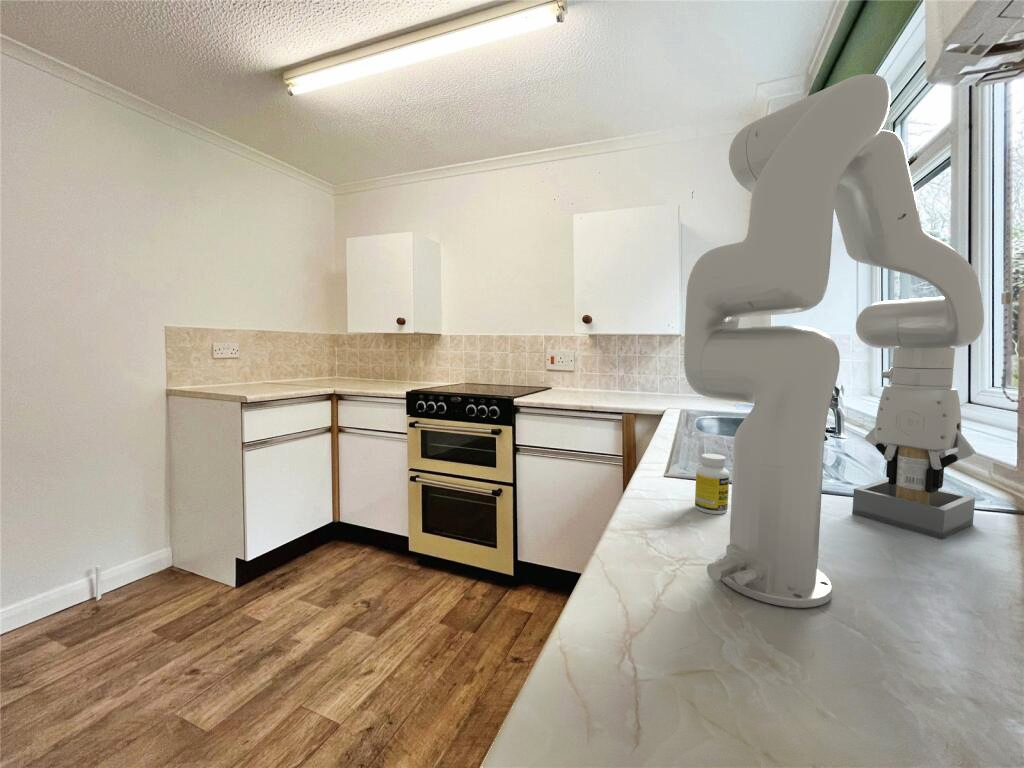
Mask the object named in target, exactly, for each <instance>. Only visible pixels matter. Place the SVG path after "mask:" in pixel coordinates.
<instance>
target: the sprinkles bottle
mask: <svg viewBox="0 0 1024 768" xmlns="http://www.w3.org/2000/svg"><path fill="white" fill-rule="evenodd" d="M930 465H931V461H930V456H929V451H928V450H922V449H915V448H909V447H902V446H899V450H898V459H897V476H896V484H897V485H896V497H897V498H902V499H906V500H910V501H914V502H918V503H923V504H927V505H930V504H929V497H930V493H928V492H927V491H925V487H926V474H927V469H928V468H930Z"/></svg>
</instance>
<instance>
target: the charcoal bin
mask: <svg viewBox="0 0 1024 768" xmlns="http://www.w3.org/2000/svg"><path fill="white" fill-rule="evenodd" d="M888 480H889V478H885V479H882V480H878V481H875V482H871V483H869V484H865V485H861V486H858V487H855V488H853V498H852V513H851V514H852V515H855V516H859V517H862V518H865V519H869V520H871V521H872V520H873V521H876V522H879V523H883V524H886V525H890V526H894V527H897V528H901V529H904V530H908V531H911V532H914V533H918V534H921V535H925V536H929V537H933V538H936V539H939V540H945V539H947V538H948V537H950V536H952V535H954V534H957V533H959V532H961V531H963V530H964V529H966V528H969V527H971V526H973V525H974V515H975V504H976V497H975V496H969V495H965V494H960V493H955V492H950V491H946V490H941V489H939V490H938V491H936V492H933V493H930V497H929V504H930V505H927V504H923V503H918V502H914V501H910V500H906V499H902V498H897V497H896V485H897V484H894V485H891V484H889V483H888Z"/></svg>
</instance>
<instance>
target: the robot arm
mask: <svg viewBox="0 0 1024 768" xmlns="http://www.w3.org/2000/svg"><path fill="white" fill-rule="evenodd" d="M890 105H891V88H890V85H889V83H888V82H887V80H886V79H885V78H884V77H883V76H880V75H878V74H871V73H864V74H863V73H862V74H858V75H854V76H851V77H848V78H845V79H843V80H841V81H840V82H837V83H835V84H832V85H831V86H829V87H826V88H824V89H822V90H820V91H817V92H815V93H813V94H811V95H808V96H806V97H803V98H802V99H800V100H798V101H796V102H793V103H791V104H790V105H787V106H785V107H782V108H781V109H778V110H777V111H774V112H772V113H770V114H766V115H765V116H762V117H761V118H758V119H756V120H754V121H752V122H750V123H749V124H747V125H746V126H744V127H743V128H742V129H741V130H740V131H739V132H737V134H736V135H735V136H734V138H733V139H732V141H731V143H730V147H729V152H728V164H729V169H730V171H731V173H732V175H733V177H734V178H735V181H736V182H737V183H739V185H740V186H741V187H743V188H744V189H745V190H746V191H748V192H750V193H751V198H750V208H749V218H748V229H747V234H746V236H745V238H744V239H743V240H742V241H739V242H736V243H735V242H734V243H730V244H726V245H722V246H717V247H715V248H712V249H710V250H708V251H706V252H705V253H704V254H702V255H701V256H700V257H699V258H698V260H697V261H696V262H695V264H694V265H693V267H692V269H691V272H690V273H689V277H688V281H687V286H686V297H685V321H684V345H683V347H684V348H683V364H684V373H685V377H686V381H687V383H688V385H689V386H690V388H691V389H692V390H693V391H694V392H695V393H697V394H699V395H700V396H703V397H707V398H711V399H718V400H726V401H733V402H734V401H735V402H745V403H749V404H753V407H752V409H751V410H750V412H749V413H748V414H747V415H746V417H744V419H743V420H742V422H741V423H740V424H739V426H738V428H737V430H736V432H735V434H734V438H733V445H732V472H731V473H732V475H731V498H730V502H731V503H730V526H729V544H727V545H726V550H725V551H726V552H723V553H721V554H720V555H718V556H717V557H716V559H715V561H714V562H711V563H708V565H707V566H706V572H707V574H708V576H709V578H710V579H712V580H713V581H722V582H723V583H724V584H725V585H727V587H730V588H731V589H732V590H734V591H736V592H738V593H740V594H742V595H744V596H746V597H749V598H751V599H753V600H756V601H759V602H763V603H766V604H770V605H775V606H779V607H787V608H802V609H804V608H805V609H807V608H815V607H819V606H822V605H824V604H827V603H828V602H829V601H830V600H831V598H832V594H833V585H832V583H831V580H830V579H829V578H828V577H827V576H826V575H825V574H824V573H823V572H821V570H819V569H818V561H819V560H818V559H819V544H820V543H819V541H820V528H821V527H820V526H821V511H822V508H821V507H822V495H823V494H822V491H823V490H822V489H823V472H824V453H825V451H824V450H825V443H826V442H825V441H826V428H827V423H828V417H829V416H828V414H829V411H830V406H831V402H832V399H833V394H834V390H835V387H836V384H837V380H838V376H839V372H840V365H841V363H840V362H841V361H840V360H841V359H840V357H841V356H840V351H839V348H838V346H837V344H836V343H835V341H834V340H833V338H831V337H830V336H829V335H828V334H827V333H824V332H823V331H821V330H818V329H816V328H813V327H807V326H803V325H802V326H801V325H770V326H769V325H767V326H752V327H739V324H740V320H741V318H750V317H764V316H779V315H789V314H797V313H802V312H806V311H809V310H811V309H813V308H815V307H817V306H818V305H819V304H820V303H821V302H822V301H823V299H824V297H825V295H826V293H827V289H828V283H829V279H830V277H829V276H830V269H831V258H832V257H831V255H832V245H833V243H832V242H833V241H832V238H833V229H834V228H833V227H834V226H833V225H834V213H835V216H836V219H837V222H838V225H839V228H840V232H841V235H842V240H843V243H844V246H845V250H846V254H847V255H848V256H849V258H851V259H852V260H854V261H856V262H858V263H862V264H865V265H868V266H873V267H877V268H882V269H884V270H885V269H886V270H890V271H894V272H899V273H902V274H907V275H910V276H913V277H915V278H917V279H921V280H923V281H925V282H927V283H929V284H931V286H933V287H935V289H937V291H939V293H940V294H941V296H936V297H935V296H934V297H932V296H931V297H922V298H921V297H920V298H919V297H918V298H909V299H898V300H884V301H880V302H879V301H878V302H874V303H872V304H870V305H868V306H867V307H865V308H864V309H862V310H861V312H860V313H859V314H858V316H857V319H856V321H855V330H856V334H857V336H858V338H859V340H860V341H861V342H862V343H864V344H865V345H867V346H869V347H872V348H874V349H875V348H877V349H892V350H893V351H892V352H893V354H892V364H891V365H892V367H890V369H888V370H882V372H881V377H882V378H883V379H887V380H889V383H890V385H885V386H884V387H883V389H882V392H881V395H880V398H879V404H878V407H877V413H876V419H875V425H874V427H873V428H872V429H871V430H870V431H869V432H868V433H867V434H866V435H865V436H864V439H865V441H867V442H868V443H869V444H870V445H872V446H874V447H875V449H876V450H877V451H878V452H879V453H880V454H881V455H882V456H883V458H884V460H885V461H886V467H885V468H886V469H885V470H886V471H885V477H886V479H889V480H888V483H889V484H891V485H894V484H896V476H897V459H898V450H899V446H902V447H909V448H915V449H922V450H928V451H929V456H930V461H931V465H930V468H928V469H927V474H926V487H925V491H927V492H928V493H933V492H936V491H938V490H941V489H942V488H943V486H944V485H943V484H944V474H945V468H947V467H948V466H951V465H953V464H954V463H957V462H958V461H960V460H963V459H966V458H970V457H972V456H975V455H976V451H975V449H974V448H973V446H972V445H971V443H969V441H968V440H967V439H966V438H965V436H964V435H963V434H962V410H961V403H960V397H959V392H958V391H959V390H958V389H957V388H953V382H954V381H953V379H954V369H955V368H954V366H955V364H954V363H955V356H956V355H955V354H956V349H958V348H964V347H967V346H969V345H971V344H973V343H974V342H976V340H977V339H978V338H979V337H980V335H981V334H982V331H983V328H984V323H985V315H984V314H985V312H984V303H983V298H982V293H981V292H982V291H981V287H980V283H979V278H978V275H977V273H976V271H975V270H974V268H973V265H971V264H970V263H969V261H968V260H967V259H966V257H964V256H963V255H962V254H960V253H959V252H958V251H957V250H955V249H954V247H952V246H950V245H949V244H947V243H945V242H944V241H942V240H940V239H939V238H937V237H934V236H932V235H930V234H929V233H928V232H926V231H925V230H924V229H923V226H922V224H921V218H920V213H919V209H918V206H917V200H916V195H915V190H914V185H913V180H912V176H911V171H910V166H909V163H908V157H907V153H906V148H905V145H904V141H902V137H900V136H899V135H898V133H896V132H893V131H891V130H886V129H882V128H883V127H884V125H885V122H886V120H887V117H888V115H889V111H890V107H891V106H890ZM953 449H957V451H956V452H952V453H950V454H947V453H946V452H947V451H949V450H953Z"/></svg>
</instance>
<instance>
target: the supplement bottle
mask: <svg viewBox="0 0 1024 768" xmlns="http://www.w3.org/2000/svg"><path fill="white" fill-rule="evenodd" d="M726 457H727V456H724V455H723V454H718V453H703V454H701V457H700V463H701V465H699V466H698V467H697V468H696V473H695V493H694V494H695V495H694V507H695V508H696V509H697V510H698V511H700V512H703V513H705V514H711V515H722V514H726V512H728V509H729V508H728V505H729V492H730V491H729V489H730V472H729V470H728V469H726V468H725V466H726V465H727V464H726V463H727V461H726V460H727V458H726Z"/></svg>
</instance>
